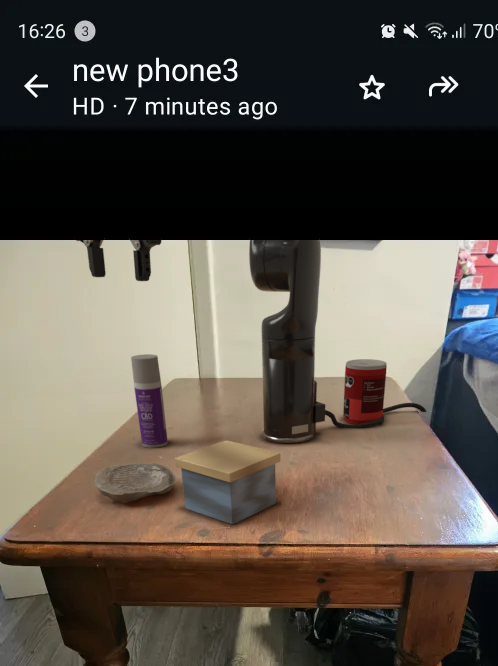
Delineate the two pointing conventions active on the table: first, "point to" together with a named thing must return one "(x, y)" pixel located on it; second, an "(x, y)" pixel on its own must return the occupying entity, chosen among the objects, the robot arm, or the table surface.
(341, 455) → the table surface
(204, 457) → the board box
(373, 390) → the canned food
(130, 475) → the fossil
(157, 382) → the container
